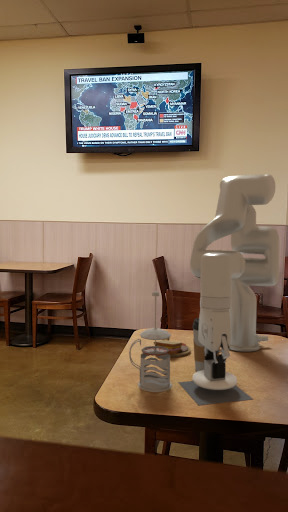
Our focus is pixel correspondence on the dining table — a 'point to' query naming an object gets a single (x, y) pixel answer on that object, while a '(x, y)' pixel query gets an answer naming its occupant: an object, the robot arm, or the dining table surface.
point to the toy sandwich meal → (174, 347)
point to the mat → (213, 394)
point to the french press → (153, 379)
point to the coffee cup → (198, 348)
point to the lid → (208, 382)
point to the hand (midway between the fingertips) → (214, 373)
